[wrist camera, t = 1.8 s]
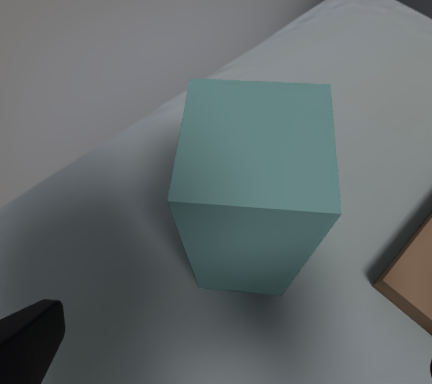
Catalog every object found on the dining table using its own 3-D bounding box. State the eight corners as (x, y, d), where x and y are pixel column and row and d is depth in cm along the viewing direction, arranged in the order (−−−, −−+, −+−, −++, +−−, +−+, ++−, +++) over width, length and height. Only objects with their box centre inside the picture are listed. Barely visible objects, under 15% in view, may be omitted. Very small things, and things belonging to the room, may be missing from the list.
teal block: (281, 219, 22) (330, 84, 12) (281, 295, 20) (341, 213, 9) (207, 213, 23) (189, 78, 12) (199, 288, 20) (167, 200, 10)
